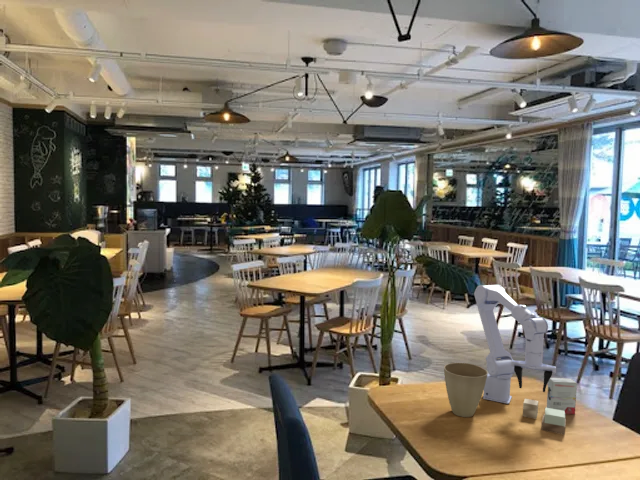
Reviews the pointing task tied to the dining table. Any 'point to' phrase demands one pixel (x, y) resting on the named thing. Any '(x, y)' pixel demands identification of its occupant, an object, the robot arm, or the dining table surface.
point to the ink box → (562, 394)
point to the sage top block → (555, 416)
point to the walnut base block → (553, 427)
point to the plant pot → (464, 387)
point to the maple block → (530, 408)
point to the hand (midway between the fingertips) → (532, 389)
